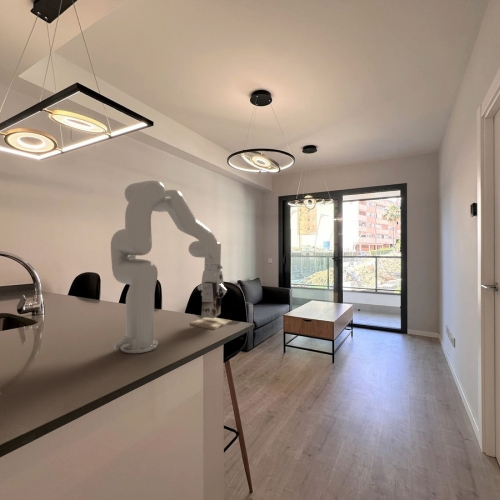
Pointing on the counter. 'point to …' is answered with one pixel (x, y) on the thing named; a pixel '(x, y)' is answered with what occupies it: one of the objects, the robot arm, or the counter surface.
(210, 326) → the cream folded cloth
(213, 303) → the coffee box
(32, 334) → the counter surface
